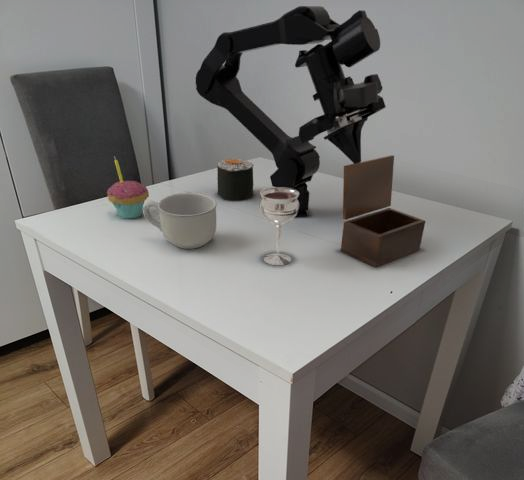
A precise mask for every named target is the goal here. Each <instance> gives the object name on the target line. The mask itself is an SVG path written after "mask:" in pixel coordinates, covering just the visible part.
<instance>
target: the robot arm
mask: <svg viewBox="0 0 524 480" xmlns="http://www.w3.org/2000/svg"><path fill="white" fill-rule="evenodd" d="M328 40H329V41H330V40H331V41H330V42H328V43H327V44H325V45H324V44H322V43H324V42H325V41H328ZM315 44H316V45H315ZM279 45H290V46H291V45H292V46H293V45H294V46H303V45H304V46H305V45H315V46H313V47H312V48H309V50H307V49H302V50H301V49H300V50H299V51H298V55H297V58H296V61H295V63H294V67H295V68H297V69H298V68H305V67H306V68H307V70H308V73H309V76H310V79H311V81H312V84H313V86H314V90H315V92H316V93H314V94H313V95H312V98H313V101H314V102H317V101H319V103H320V108H321V109H322V112H323V114H322V115H319V116H316V117H314V118H313V119H310V120H309V121H307V122H306V123H304V124H302V125H301V126H299V129H298V135H296V136H294V137H292V136H289V135H288V134H287V133H286V132H285V131H284V130H283V129H282V128H281V127H280V126H278V124H277V123H276V122H275V121H274V120H272V118H271V117H269V116H268V115H267V114H266V113H265V111H263V110H262V109H261V108H260V107H259V106H258V105H257V104H255V103H254V102H253V100H252V99H250V98H249V97H248V95H246V94H245V93H244V92H243V89H242V86H241V83H240V80H239V78H238V73H239V72H240V67H241V57H242V55H243V53H246V52H247V53H248V52H252V51H255V50H260V49H265V48H269V47H274V46H279ZM380 48H381V37H380V34H379V30H378V29H377V28H376V27H375V25H374V23H373V22H372V20H371V18H369V17H368V15H367V12H366V10H364V9H362V10H360V9H359V10H358V11H356V12H355V13H353V14H352V15H351V16H350V17H349V18H348V19H347V20H345V21H344V22H342V23H341V24H340V23H339V22H337V21H335V20H334V19H332V18H331V16H330V15H329V12H328V10H326V8H325V7H324V6H321V5H299V6H296V7H295V8H293V9H291V10H289V11H287V12H285V13H283V15H282V16H281V17H279V18H277V19H276V20H273V21H270V22H266V23H262V24H258V25H254V26H249V27H246V28H243V29H238V30H234V31H227V32H225V31H224V32H222V33H221V34H219V35H218V37H217V38H216V41H215V44H214V46H213V47H212V49H211V50H210V51H209V52H208V54H207V55H206V56H205V58H204V59H203V60H202V63H201V64H200V67H199V70H197V72H196V75H195V89H196V92H197V93H198V95H199V96H200V97H201V98H203V99H204V100H206V101H207V102H209V103H211V105H212V104H213V105H214V106H216V107H219V108H223V109H224V110H226V111H228V112H229V114H231V115H232V116H233V117H234V118H235V119H236V121H238V122H239V123H240V124H241V125H242V126H243V127H244V128H245V129H246V130H247V131H248V132H249V133H251V134H252V136H253V137H255V139H256V140H257V141H259V143H260V144H262V146H264V147H265V148H266V149H267V150H268V151H269V152H270V153H271V155H272V157H273V160H274V163H275V166H276V168H277V169H276V170H275V171H274V172H273V173H272V174H271V175H270V176H269V180H270V183H271V187H284V188H291V189H294V190H296V191H298V192H299V193H300V194H299V196H298V198H297V200H298V201H299V210H298V213H297V215H296V216H295V217H306V216H308V210H309V206H310V205H309V203H310V191H309V189H308V184H307V183H309V182H311V181H312V179H313V178H314V177H313V176H314V175H315V174H316V173H317V172H318V171H319V169H320V163H321V159H320V155H319V153H318V151H317V150H316V148H317V146H316V145H314V144H312V143H310V141H313V140H314V139H315V137H317V136H319V135H320V134H323V133H324V132H326V133H327V135H325V136H324V137H323V139H324V140H325V141H326V140H328V142H330V143H331V144H333V145H334V146H335V147H336V148H337V149H338V150H339V151H340V152H341V153H343V154H344V155H345V157H347V158H348V159H349V160H350V161H351V162H352V164H355V163H359V162H362V131H363V127H364V125H365V123H366V122H367V121H368V118H369V117H372V116H373V115H374V114H377V113H379V112H380V111H382V110H384V109H386V108H387V107H386V104H385V100H384V97H383V96H381V95H379V94H381V93H382V91H383V85H382V81H381V80H380V76H379V74H378V73H374V74H369V75H367V76H364V79H363V81H362V82H358V83H355V82H354V79H353V78H352V77H351V76H346V75H345V73H344V69H343V66H345V67H347V68H349V69H350V68H352V67H353V66H355V65H357V64H359V63H360V62H361V61H363V60H365V59H367V58H368V57H370V56H372V55H373V54H374V53H375V54H376V53H377V52H378V51H379V50H380Z"/></svg>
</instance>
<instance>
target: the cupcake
mask: <svg viewBox="0 0 524 480" xmlns="http://www.w3.org/2000/svg"><path fill="white" fill-rule="evenodd" d="M113 158H114V164H115V168H116V171H117V175H118V178H119V181H116V182H115V183H113V184H112V185H111V186H110V187H109V188H108V189H107V190H106V195H107V198H108V201H109V202H111V204H112V205H113V207H114V208H115V209H116V212H117V214H118V216H119V217H120V218H122V219H136V218H139V217H141V216H142V214H143V207H144V205H145V201H146V200H147V199H148V198H149V197H150V193H149V190H148V187H146V186H145V185H143V184H142V183H141V182H138V181H136V180H132V179H131V180H124V178H123V174H122V171H121V167H120V164H119V161H118V159H117V158H116V156H115V155H114V156H113Z"/></svg>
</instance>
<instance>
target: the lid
mask: <svg viewBox="0 0 524 480" xmlns="http://www.w3.org/2000/svg"><path fill="white" fill-rule="evenodd" d="M394 163H395V155H394V154H393V155H391V154H390V155H387V156H386V155H385V156H382V157H377V158H372V159H369V160H364V161H361V162H359V163H355V164H354V163H351V164H347V165H346V164H345V165H343V182H342V183H343V185H342V186H343V187H342V191H343V192H342V193H343V194H342V220H344V221H347V220H350V219H354V218H357V217H360V216H364V215H367V214H370V213H373V212H377V211H380V210H383V209H386V208H390V207H391V206H392V195H393V194H392V193H393V178H394V166H395V165H394Z"/></svg>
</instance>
